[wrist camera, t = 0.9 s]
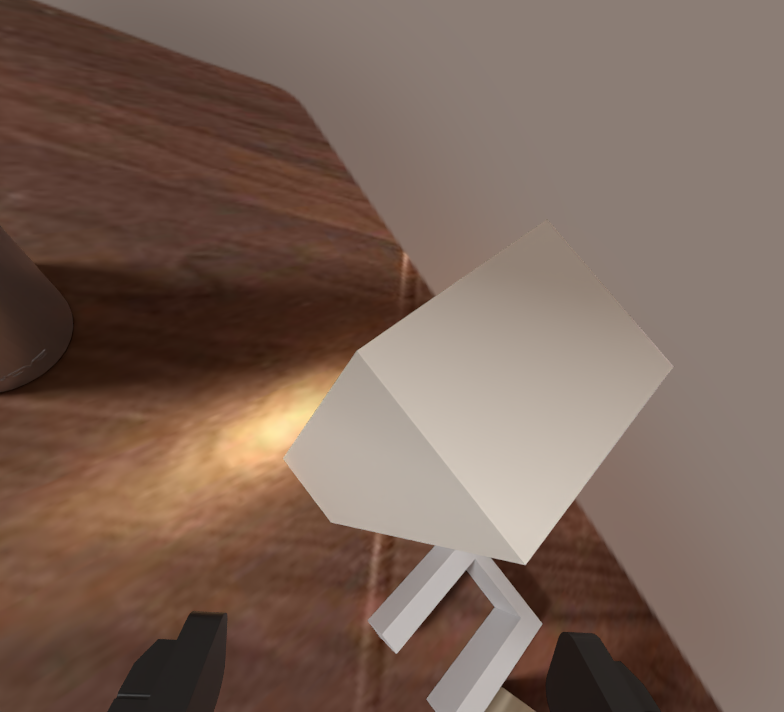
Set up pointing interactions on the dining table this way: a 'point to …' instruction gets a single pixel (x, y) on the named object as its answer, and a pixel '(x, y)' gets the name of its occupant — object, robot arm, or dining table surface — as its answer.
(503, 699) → the rail end
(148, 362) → the dining table surface
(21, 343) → the robot arm
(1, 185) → the dining table surface
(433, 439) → the white socket stand
